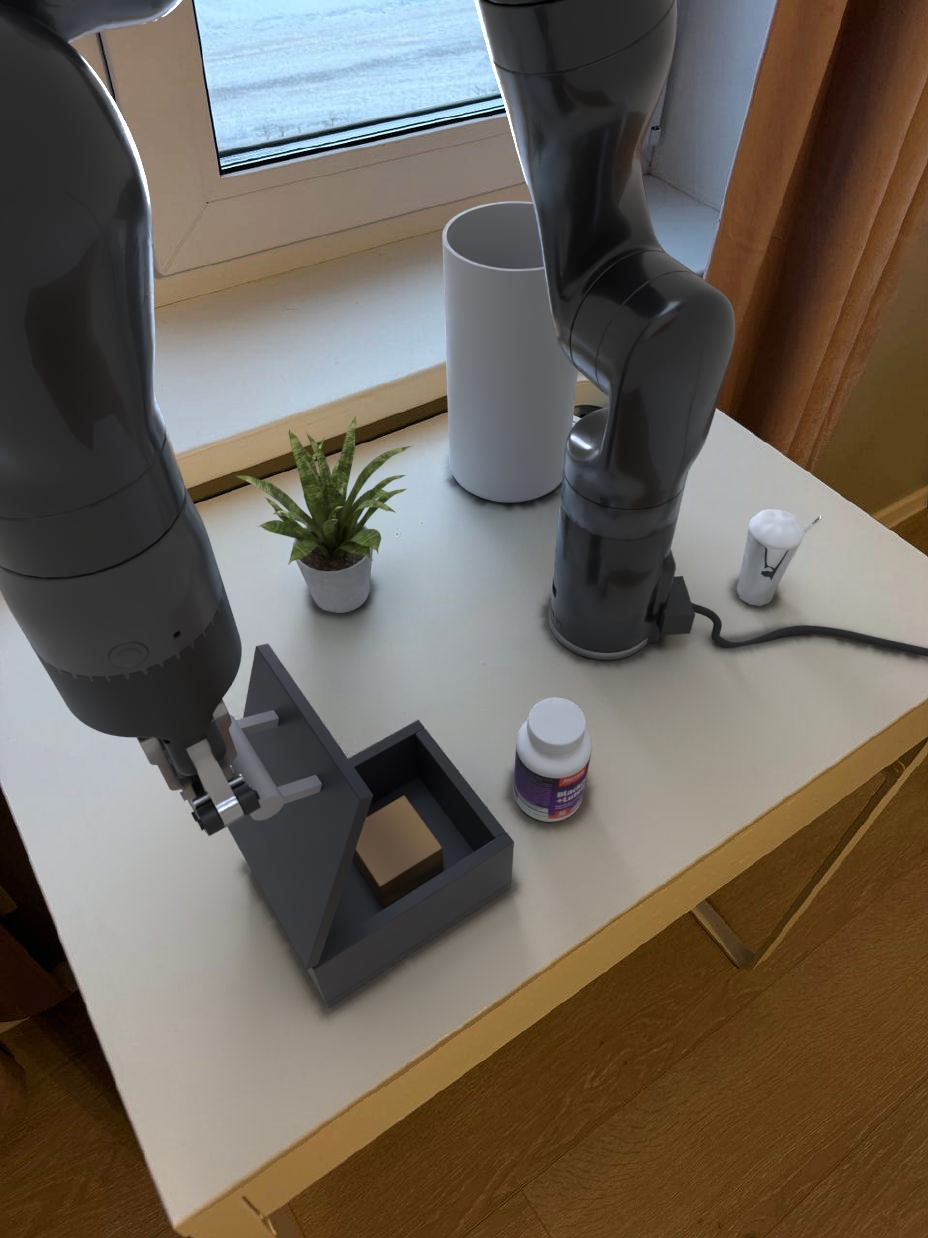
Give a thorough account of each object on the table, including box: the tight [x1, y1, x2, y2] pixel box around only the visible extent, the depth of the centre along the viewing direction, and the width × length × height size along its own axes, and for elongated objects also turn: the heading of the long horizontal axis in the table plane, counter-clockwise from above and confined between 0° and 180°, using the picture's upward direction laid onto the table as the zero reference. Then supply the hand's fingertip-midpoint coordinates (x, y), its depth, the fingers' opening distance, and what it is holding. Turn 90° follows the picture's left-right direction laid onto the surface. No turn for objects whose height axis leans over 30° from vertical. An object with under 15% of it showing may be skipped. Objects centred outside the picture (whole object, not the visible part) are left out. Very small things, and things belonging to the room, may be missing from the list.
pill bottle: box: [513, 696, 593, 823], centre depth 65 cm, size 5×5×10 cm
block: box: [352, 796, 444, 908], centre depth 63 cm, size 5×5×4 cm
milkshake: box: [736, 508, 822, 607], centre depth 78 cm, size 4×5×10 cm
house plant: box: [233, 416, 413, 614], centre depth 76 cm, size 14×14×16 cm
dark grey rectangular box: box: [306, 719, 515, 1009], centre depth 62 cm, size 15×12×7 cm
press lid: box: [226, 643, 373, 971], centre depth 50 cm, size 16×12×5 cm
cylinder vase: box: [441, 200, 579, 504], centre depth 85 cm, size 12×12×25 cm
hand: (220, 814), depth 48 cm, fingers closed
